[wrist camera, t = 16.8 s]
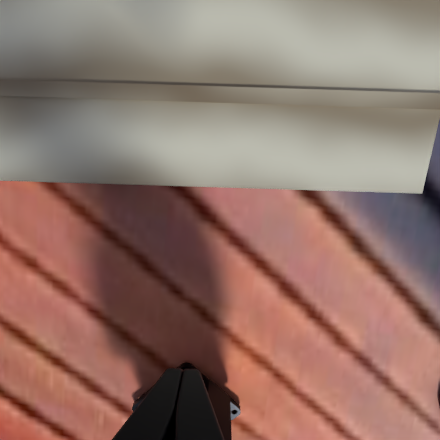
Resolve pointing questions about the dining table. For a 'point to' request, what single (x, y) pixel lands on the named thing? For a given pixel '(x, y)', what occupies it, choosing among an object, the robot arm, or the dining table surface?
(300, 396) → the dining table surface
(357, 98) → the laid plank
